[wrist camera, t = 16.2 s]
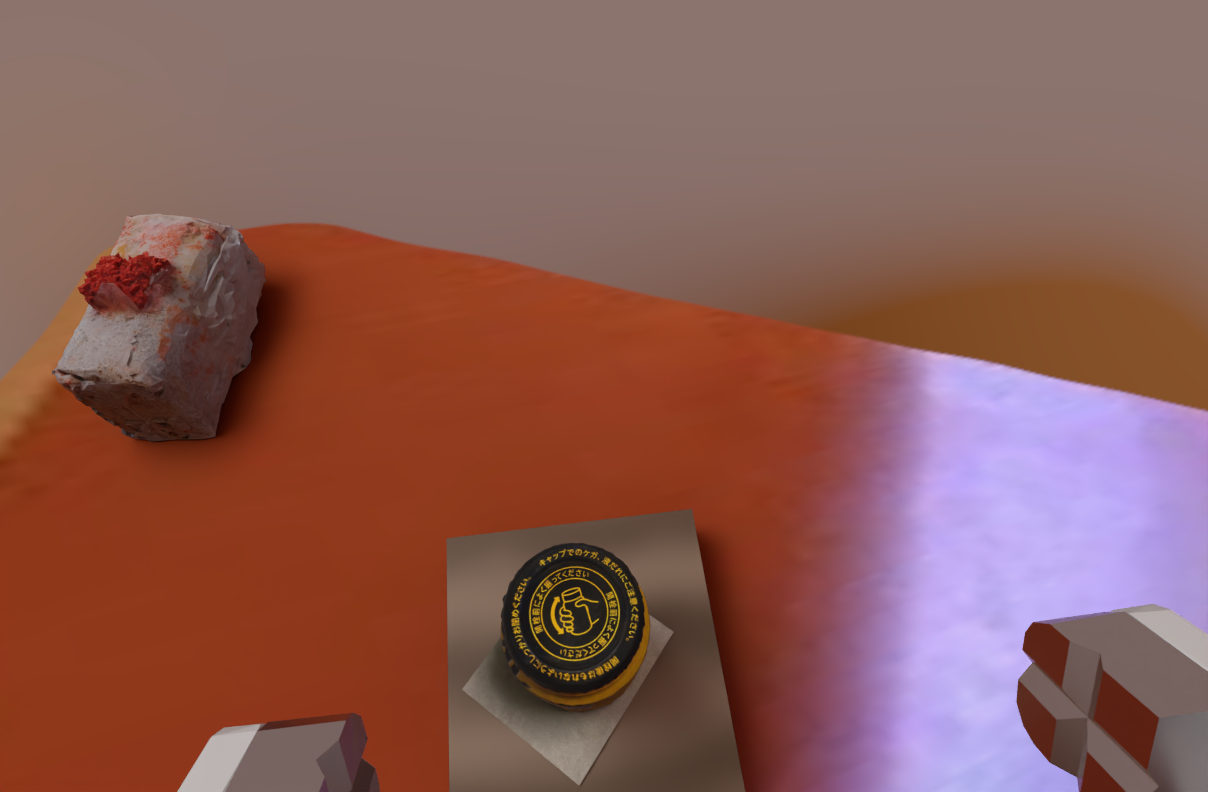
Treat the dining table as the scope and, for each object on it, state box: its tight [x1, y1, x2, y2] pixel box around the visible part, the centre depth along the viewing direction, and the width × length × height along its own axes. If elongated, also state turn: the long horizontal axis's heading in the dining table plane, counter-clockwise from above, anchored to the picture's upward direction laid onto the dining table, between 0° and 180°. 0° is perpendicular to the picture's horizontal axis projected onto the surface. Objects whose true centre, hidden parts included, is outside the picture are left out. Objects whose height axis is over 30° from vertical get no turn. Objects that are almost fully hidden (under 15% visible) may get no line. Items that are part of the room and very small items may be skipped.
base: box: [447, 509, 745, 792], centre depth 35 cm, size 14×14×4 cm
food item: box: [52, 214, 266, 441], centre depth 42 cm, size 14×8×10 cm, turn 0°
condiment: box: [462, 543, 673, 785], centre depth 28 cm, size 7×8×12 cm
